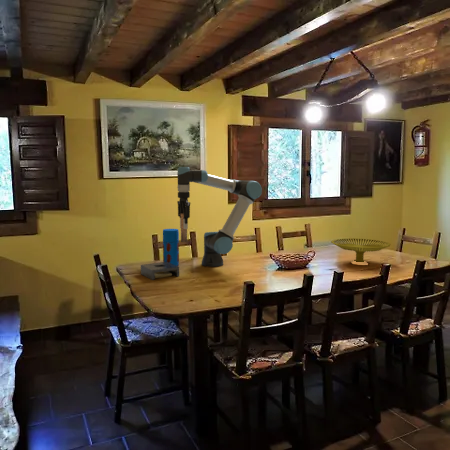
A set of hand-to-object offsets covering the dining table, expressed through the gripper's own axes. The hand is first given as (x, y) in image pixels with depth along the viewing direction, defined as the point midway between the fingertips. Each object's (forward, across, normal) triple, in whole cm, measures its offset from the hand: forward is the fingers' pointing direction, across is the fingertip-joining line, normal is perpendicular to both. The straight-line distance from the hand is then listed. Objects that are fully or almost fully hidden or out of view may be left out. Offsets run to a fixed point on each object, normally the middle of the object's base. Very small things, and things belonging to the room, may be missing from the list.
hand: (183, 228), depth 283 cm
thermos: (+29, -22, +1) cm, 36 cm away
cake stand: (+29, +42, +117) cm, 128 cm away
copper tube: (+9, 0, 0) cm, 9 cm away
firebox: (+29, -1, -17) cm, 33 cm away
